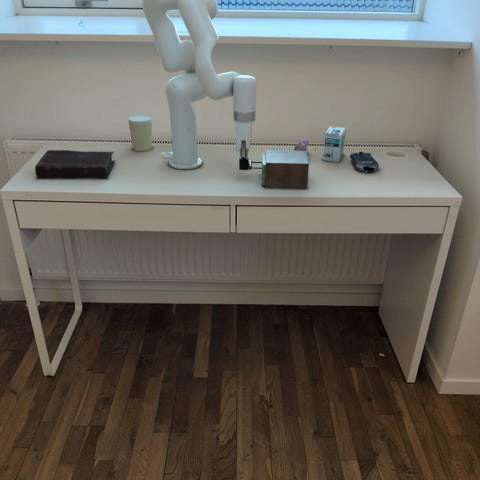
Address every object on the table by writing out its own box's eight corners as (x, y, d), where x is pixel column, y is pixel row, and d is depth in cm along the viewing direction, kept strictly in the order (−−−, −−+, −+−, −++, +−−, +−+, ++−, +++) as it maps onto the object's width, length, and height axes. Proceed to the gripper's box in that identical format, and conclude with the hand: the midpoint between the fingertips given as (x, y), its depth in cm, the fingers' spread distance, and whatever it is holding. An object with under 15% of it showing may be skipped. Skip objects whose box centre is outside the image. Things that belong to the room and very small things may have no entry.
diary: (107, 179, 193) (105, 166, 191) (37, 179, 193) (34, 166, 190) (115, 162, 209) (114, 149, 206) (50, 162, 208) (48, 149, 205)
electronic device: (346, 164, 214) (357, 172, 201) (349, 149, 212) (360, 156, 199) (368, 166, 216) (380, 175, 202) (372, 152, 213) (384, 159, 200)
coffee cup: (158, 146, 225) (155, 117, 218) (146, 153, 218) (143, 122, 211) (139, 143, 228) (136, 114, 221) (126, 149, 221) (123, 119, 214)
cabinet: (265, 188, 189) (266, 162, 184) (265, 174, 200) (266, 150, 195) (306, 189, 188) (309, 163, 183) (304, 175, 200) (306, 151, 194)
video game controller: (300, 162, 216) (309, 147, 212) (290, 156, 216) (299, 141, 212) (302, 154, 224) (311, 139, 220) (293, 148, 224) (302, 133, 219)
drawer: (247, 184, 189) (248, 164, 185) (248, 172, 199) (248, 152, 195) (300, 186, 188) (301, 165, 184) (298, 173, 199) (299, 153, 194)
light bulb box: (339, 162, 212) (342, 134, 205) (322, 160, 213) (325, 133, 207) (343, 154, 220) (346, 127, 214) (326, 152, 222) (329, 125, 215)
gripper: (234, 110, 188) (234, 162, 198) (232, 121, 175) (232, 176, 186) (255, 110, 188) (254, 162, 198) (255, 122, 175) (253, 177, 186)
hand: (243, 169), depth 192 cm, fingers closed
